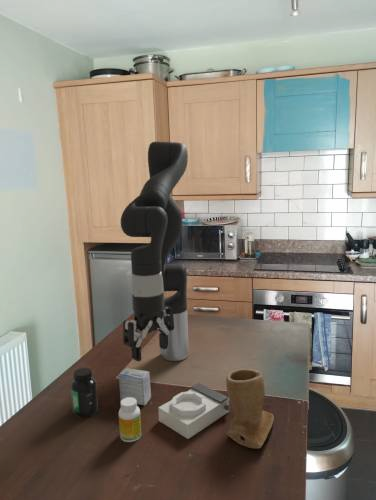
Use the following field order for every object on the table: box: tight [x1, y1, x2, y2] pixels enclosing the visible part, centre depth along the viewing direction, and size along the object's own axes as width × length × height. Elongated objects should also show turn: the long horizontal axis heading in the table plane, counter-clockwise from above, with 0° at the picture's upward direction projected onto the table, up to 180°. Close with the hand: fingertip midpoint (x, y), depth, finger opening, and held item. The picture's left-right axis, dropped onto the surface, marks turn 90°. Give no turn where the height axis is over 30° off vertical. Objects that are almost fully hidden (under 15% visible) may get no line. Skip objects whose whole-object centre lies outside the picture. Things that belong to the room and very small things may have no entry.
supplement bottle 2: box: [118, 397, 142, 443], centre depth 107 cm, size 5×5×10 cm
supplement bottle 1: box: [70, 367, 99, 418], centre depth 118 cm, size 7×7×12 cm
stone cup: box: [225, 368, 275, 450], centre depth 107 cm, size 15×12×15 cm
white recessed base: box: [157, 382, 231, 440], centre depth 114 cm, size 16×12×6 cm
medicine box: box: [118, 367, 152, 406], centre depth 123 cm, size 8×4×9 cm, turn 71°
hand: (150, 354), depth 104 cm, fingers open, 8 cm apart
